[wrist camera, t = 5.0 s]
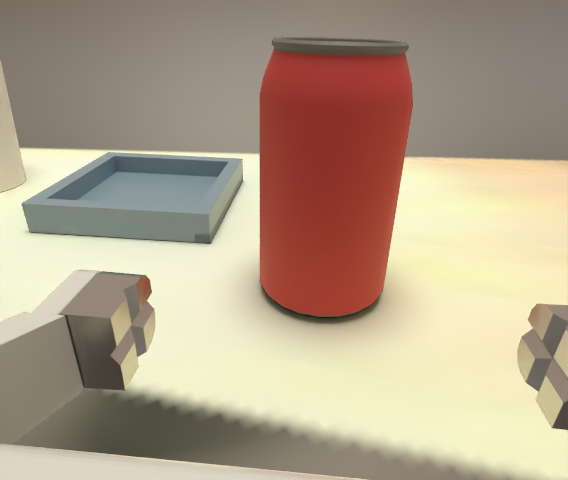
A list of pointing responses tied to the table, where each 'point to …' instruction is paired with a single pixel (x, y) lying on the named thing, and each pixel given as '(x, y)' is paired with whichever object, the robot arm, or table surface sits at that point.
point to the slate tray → (139, 198)
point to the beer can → (330, 169)
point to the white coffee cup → (8, 144)
